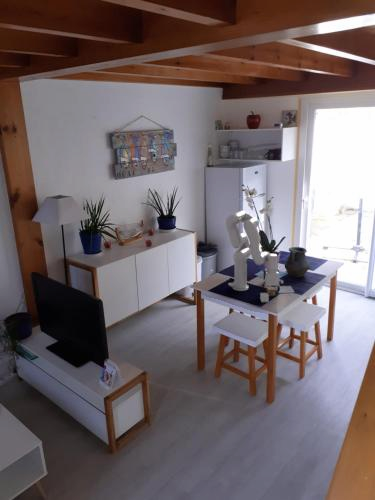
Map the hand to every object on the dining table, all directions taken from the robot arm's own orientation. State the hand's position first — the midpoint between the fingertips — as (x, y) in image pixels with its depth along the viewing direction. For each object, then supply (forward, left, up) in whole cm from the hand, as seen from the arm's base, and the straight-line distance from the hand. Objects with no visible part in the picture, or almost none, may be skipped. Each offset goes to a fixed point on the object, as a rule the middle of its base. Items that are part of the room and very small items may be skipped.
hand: (271, 291), depth 307 cm
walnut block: (0, 0, -2) cm, 2 cm away
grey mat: (+12, +7, -2) cm, 14 cm away
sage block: (-7, -10, -2) cm, 12 cm away
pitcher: (+28, +33, -3) cm, 43 cm away
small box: (+5, +24, -3) cm, 25 cm away
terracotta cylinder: (0, +10, -2) cm, 11 cm away
